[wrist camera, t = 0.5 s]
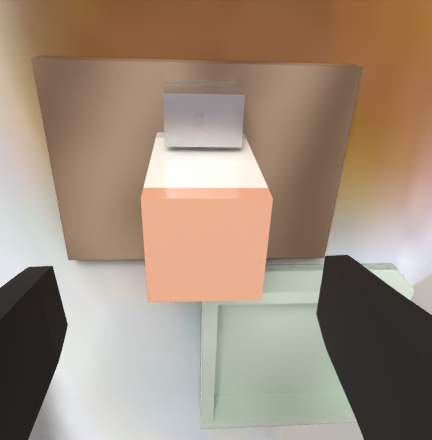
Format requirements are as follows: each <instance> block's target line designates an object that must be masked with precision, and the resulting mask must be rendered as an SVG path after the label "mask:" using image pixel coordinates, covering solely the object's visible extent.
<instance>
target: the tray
mask: <svg viewBox="0 0 432 440" xmlns="http://www.w3.org/2000/svg"><path fill="white" fill-rule="evenodd" d="M361 265H363V266H364V267H365V268H367V269H368V270H369V271H371V272H372V273H373V274H375V275H376V276H378V277H379V278H380V279H382V280H383V281H384V282H386V283H387V284H388V285H390V286H391V287H392V288H394V289H395V290H396V291H398V292H399V293H401V294H402V295H403V296H405V297H406V298H408V299H409V300H410V301H411V298H412V296H413V293H414V289H413V288H412V287H411V285H410V284H409V283H408V282H407V280H406V279H405V278H404V277H403V275H402V274H401V273H400V272H399V270H398V269H397V268H396V267H395V265H394V264H361ZM323 268H324V265H265V274H264V283H263V292H262V300H251V301H202V304H201V363H200V415H201V429H211V428H235V427H260V426H284V425H308V424H331V423H356V422H357V420H356V418H355V416H354V413H353V411H352V409H351V406H350V404H349V402H348V399H347V397H346V395H345V392H344V390H343V388H342V385H341V383H340V381H339V378H338V376H337V374H336V371H335V369H334V367H333V364H332V362H331V360H330V357H329V355H328V352H327V350H326V347H325V344H324V341H323V337H322V334H321V330H320V326H319V323H318V319H317V315H316V312H317V305H318V299H319V293H320V287H321V280H322V274H323Z"/></svg>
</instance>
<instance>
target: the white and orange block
mask: <svg viewBox="0 0 432 440" xmlns="http://www.w3.org/2000/svg"><path fill="white" fill-rule="evenodd" d="M272 203H273V198H272V195H271V193H270V191H269V189H268V186H267V184H266V182H265V180H264V177H263V175H262V173H261V170H260V168H259V166H258V164H257V161H256V159H255V157H254V155H253V152H252V150H251V148H250V146H249V143H248V141H247V139H246V137H245V134H244V133H242V148H236V147H164V132H157V135H156V139H155V143H154V147H153V151H152V155H151V159H150V163H149V167H148V171H147V175H146V179H145V183H144V187H143V191H142V195H141V210H142V224H143V239H144V253H145V268H146V282H147V297H148V302H195V301H251V300H262V292H263V283H264V274H265V265H266V256H267V248H268V239H269V230H270V221H271V212H272Z"/></svg>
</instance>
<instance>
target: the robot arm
mask: <svg viewBox="0 0 432 440" xmlns="http://www.w3.org/2000/svg"><path fill="white" fill-rule="evenodd" d="M316 315H317V319H318V323H319V326H320V330H321V334H322V337H323V341H324V344H325V347H326V350H327V352H328V355H329V357H330V360H331V362H332V364H333V367H334V369H335V371H336V374H337V376H338V378H339V381H340V383H341V385H342V388H343V390H344V392H345V395H346V397H347V399H348V402H349V404H350V406H351V409H352V411H353V413H354V416H355V418H356V420H357V423H358V425H359V427H360V430H361V433H362V435H363V438H364V440H432V315H431V314H429V313H428V312H426V311H425V310H423V309H422V308H420V307H419V306H418V305H416V304H415V303H413V302H412V301H410V300H409V299H408V298H406V297H405V296H403V295H402V294H401V293H399V292H398V291H396V290H395V289H394V288H392V287H391V286H390V285H388V284H387V283H386V282H384V281H383V280H382V279H380V278H379V277H378V276H376V275H375V274H373V273H372V272H371V271H369V270H368V269H367V268H365V267H364V266H363V265H361V264H360V263H359V262H357V261H356V260H354V259H353V258H351V257H350V256H348V255H337V256H325V261H324V268H323V274H322V280H321V287H320V293H319V299H318V305H317V312H316ZM67 326H68V324H67V321H66V317H65V313H64V309H63V305H62V301H61V297H60V293H59V289H58V285H57V281H56V278H55V274H54V270H53V266H42V267H28V268H27V269H25V270H24V271H22V272H21V273H19V274H18V275H17V276H15V277H14V278H13V279H11V280H10V281H9V282H7V283H6V284H5V285H4V286H2V287H1V288H0V440H28V438H29V436H30V433H31V431H32V428H33V426H34V423H35V421H36V418H37V416H38V413H39V411H40V408H41V406H42V403H43V400H44V398H45V395H46V393H47V390H48V388H49V385H50V383H51V380H52V377H53V375H54V372H55V370H56V367H57V364H58V362H59V358H60V354H61V351H62V347H63V343H64V339H65V334H66V330H67Z"/></svg>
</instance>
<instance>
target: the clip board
mask: <svg viewBox="0 0 432 440" xmlns="http://www.w3.org/2000/svg"><path fill="white" fill-rule="evenodd" d="M31 60H32V65H33V71H34V76H35V81H36V87H37V92H38V98H39V103H40V108H41V114H42V119H43V125H44V130H45V136H46V141H47V146H48V152H49V157H50V163H51V168H52V174H53V179H54V184H55V190H56V195H57V201H58V206H59V212H60V217H61V222H62V228H63V233H64V239H65V244H66V250H67V255H68V260H128V259H145V253H144V239H143V224H142V210H141V195H142V191H143V187H144V183H145V179H146V175H147V171H148V167H149V163H150V159H151V155H152V151H153V147H154V143H155V139H156V135H157V132H164V147H236V148H242V133H244V134H245V137H246V139H247V141H248V143H249V146H250V148H251V150H252V152H253V155H254V157H255V159H256V161H257V164H258V166H259V168H260V170H261V173H262V175H263V177H264V180H265V182H266V184H267V186H268V189H269V191H270V193H271V195H272V198H273V203H272V212H271V221H270V230H269V239H268V248H267V256H266V258H324V257H325V252H326V247H327V242H328V237H329V232H330V227H331V222H332V217H333V212H334V207H335V202H336V197H337V192H338V187H339V182H340V177H341V172H342V167H343V162H344V157H345V152H346V147H347V142H348V137H349V132H350V127H351V121H352V116H353V111H354V106H355V101H356V96H357V91H358V86H359V81H360V76H361V71H362V67H360V66H357V65H355V64H325V63H287V62H248V61H210V60H171V59H133V58H94V57H56V56H38V57H35V58H32V59H31Z"/></svg>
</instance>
